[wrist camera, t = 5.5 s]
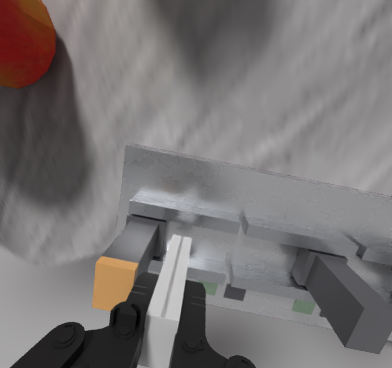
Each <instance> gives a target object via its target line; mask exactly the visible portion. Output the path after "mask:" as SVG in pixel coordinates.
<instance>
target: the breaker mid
mask: <svg viewBox="0 0 392 368" xmlns="http://www.w3.org/2000/svg"><path fill="white" fill-rule="evenodd" d="M347 262H348V259H347V258H346V257H345V256H341V255H336V254H331V253H326V252H321V251H316V250H311V249H306V248H301V247H300V250H299V253H298V255H297V258H296V261H295V263H294V266H293V269H292V272H291V274H292V275H293V277H294V279H295V280H296V282H297V284H298V285H303V286H306V288H307V289H308V291H309V292H310V294H311V296H312V297H313V299H314V300H315V302H316V303H317V305H318V306H319V308H320V309H321V311H322V313H323V314H324V316H325V317H326V319H327V320H328V322H329V323H330V325H331V327H332V328H333V330H334V331H335V333H336V334H337V336H338V337H339V339H340V340H341V342H342V343H343V345H344V347H346V348H350V349H355V350H361V351H366V352H371V353H376V354H379V353H380V352H381V350H382V348H383V346H384V345H385V343H386V341H387V339H388V337H389V336H390V334H391V332H392V307H391V306H390V305H389V304H388V303H387V302H386V301H385V300H384V299H383V298H382V297H381V296H380V295H379V294H378V293H376V292H375V291H374V290H373V289H372V288H371V287H370V286H369V285H368V284H367V283H366V282H365V281H364V280H363V279H362V278H361V277H360V276H358V275H357V274H356V273H355V272H354V271H353V270H352V269H351V268H350V267H349V266H348V265H347Z"/></svg>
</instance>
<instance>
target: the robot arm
mask: <svg viewBox="0 0 392 368" xmlns="http://www.w3.org/2000/svg"><path fill="white" fill-rule="evenodd" d="M191 241H192V238H189V237H184V236H179V235H174V234H173V237H172V240H171V243H170V246H169V249H168V251H167V254H166V257H165V260H164V263H163V266H162V269H161V272H160V275H158V274H153V273H148V272H143V273H142V274H141V275H139V276H138V277H137V279H136V281H135V283H134V286H133V287H132V289H131V292H130V293H129V295H128V297H127V300H126V301H123V302H120V303H119V304H117V305H115V306H114V307H113V309H112V310H111V313H110V323H109V326H107V327H105V328H102V329H97V330H88V331H85V330H84V327H83V326H82V325H81V324H79V323H76V322H68V323H64V324H61V325H59V326H57V327H56V328H54V329H53V330H51V331H50V332H49V333H48V334H47V335H46V336H45V337H44V338H42V339H41V340H40V341H39V342H38V343H37V344H36V345H35V346H34V347H32V348H31V349H30V350H29V351H28V352H27V353H26V354H25V355H24V356H22V357H21V358H20V359H19V360H18V361H17V362H16V363H15V364H14V365H13V366H12V367H10V368H137V365H142V366H147V367H152V368H256V367H255V365H254V364H253V363H252V362H251V361H250V360H248V359H247V358H245V357H243V356H239V355H235V356H232V357H230V358H229V359H226V358H225V357H223V356H221V355H219V354H218V353H217V352H215V351H214V350H213V349H212V348H211V347H210V345H209V344H208V342H207V339H206V336H205V310H206V308H205V306H206V290H205V288H204V285H203V283H200V282H195V281H190V280H186V274H187V267H188V261H189V254H190V248H191Z"/></svg>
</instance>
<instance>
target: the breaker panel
mask: <svg viewBox="0 0 392 368" xmlns="http://www.w3.org/2000/svg"><path fill="white" fill-rule="evenodd" d="M129 213H132V214H137V215H142V216H147V217H152V218H157V219H162V220H167V221H168V222H167V228H166V234H165V239H164V245H163V249H162V252H161V255H160V257H158V256H153V257H152V260H151V262H150V265H149V267H148V270H147V272H148V273H153V274H158V275H160V272H161V269H162V266H163V263H164V260H165V257H166V254H167V251H168V249H169V246H170V243H171V240H172V237H173V234H174V235H179V236H184V237H189V238H192V241H191V248H190V254H189V261H188V267H187V274H186V280H190V281H195V282H200V283H203V285H204V288H205V290H206V304H207V305H213V306H218V307H223V308H228V309H233V310H238V311H243V312H248V313H253V314H259V315H263V316H268V317H273V318H278V319H283V320H288V321H293V322H298V323H304V324H309V325H314V326H319V327H324V328H329V329H333V328H332V327H331V325H330V323H329V322H328V320H327V319H326V317H325V316H324V314H323V313H322V311H321V309H320V308H319V306H318V305H317V303H316V302H315V300H314V299H313V297H312V296H311V294H310V292H309V291H308V289H307V288H306V286H303V285H298V284H297V282H296V280H295V279H294V277H293V275H292V274H291V272H292V269H293V266H294V263H295V261H296V258H297V255H298V253H299V250H300V247H301V248H306V249H311V250H316V251H321V252H326V253H331V254H336V255H341V256H345V257H346V258H347V259H348V262H347V265H348V266H349V267H350V268H351V269H352V270H353V271H354V272H355V273H356V274H357V275H358V276H360V277H361V278H362V279H363V280H364V281H365V282H366V283H367V284H368V285H369V286H370V287H371V288H372V289H373V290H374V291H375V292H376V293H378V294H379V295H380V296H381V297H382V298H383V299H384V300H385V301H386V302H387V303H388V304H389V305H390V306H391V307H392V196H388V195H383V194H378V193H373V192H368V191H363V190H358V189H353V188H348V187H343V186H339V185H334V184H329V183H324V182H319V181H314V180H309V179H304V178H299V177H294V176H290V175H285V174H280V173H275V172H270V171H265V170H260V169H255V168H250V167H245V166H240V165H236V164H231V163H226V162H221V161H216V160H211V159H206V158H201V157H196V156H191V155H187V154H182V153H177V152H172V151H167V150H162V149H157V148H152V147H147V146H142V145H138V144H131V145H126V149H125V158H124V167H123V176H122V185H121V194H120V203H119V212H118V221H117V230H116V238H117V237H118V236H119V234H120V233H121V232H122V231H123V230H124V228H125V227H126V218H127V215H128V214H129ZM387 340H390V341H392V332H391V334H390V336H389V337H388V339H387Z"/></svg>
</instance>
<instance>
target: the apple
mask: <svg viewBox="0 0 392 368" xmlns="http://www.w3.org/2000/svg"><path fill="white" fill-rule="evenodd" d="M54 55H55V28H54V26H53V23H52V21H51V18H50V16H49V13H48V11H47V8H46V7H45V5H44V4H43V3H42V1H41V0H0V86H6V87H12V88H18V89H19V88H22V87H25V86H27V85H30V84H33V83H35V82H36V81H37V80H38V79H39V78H40V77H41V76H42V75H44V74H45V73H46V72H47V71H48V69H49V66H50V64H51V62H52V59H53V57H54Z"/></svg>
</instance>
